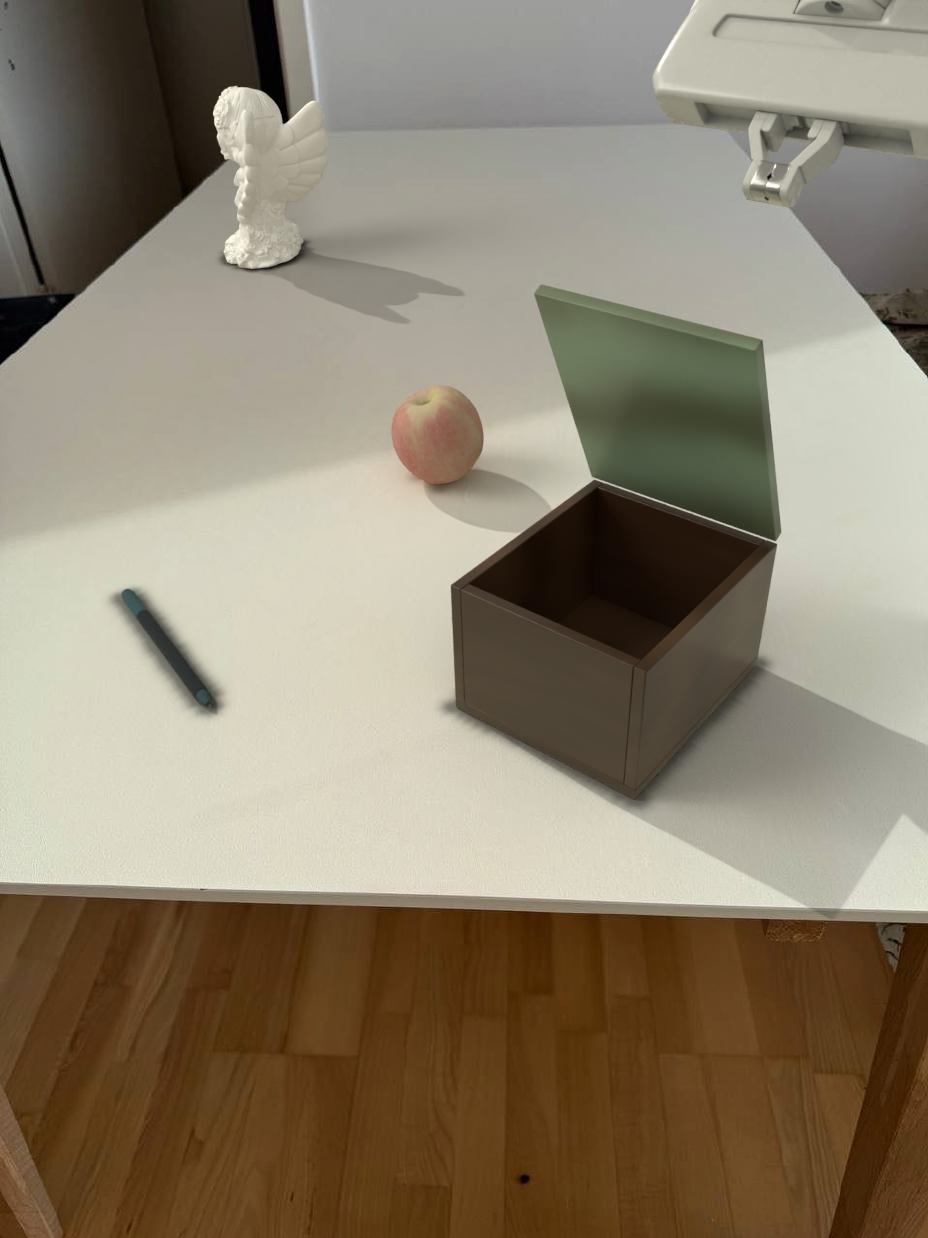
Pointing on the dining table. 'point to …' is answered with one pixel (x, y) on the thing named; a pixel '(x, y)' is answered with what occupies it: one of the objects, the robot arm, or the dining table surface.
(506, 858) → the dining table surface
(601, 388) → the lid
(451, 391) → the apple
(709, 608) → the coldframe
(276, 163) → the cherub figurine
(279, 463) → the dining table surface
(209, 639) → the dining table surface
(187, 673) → the pen
